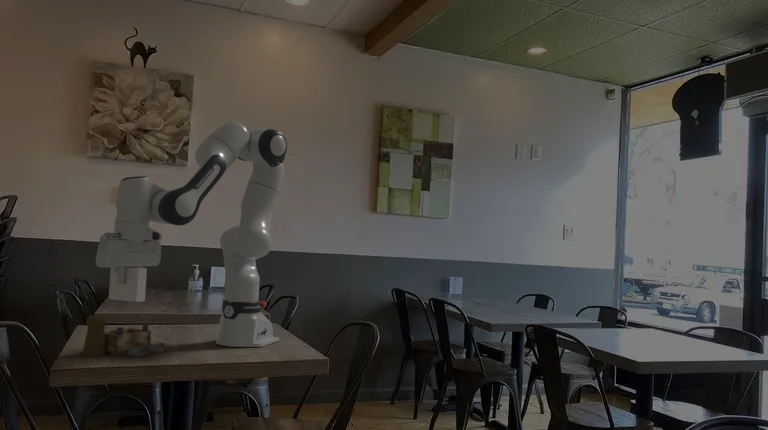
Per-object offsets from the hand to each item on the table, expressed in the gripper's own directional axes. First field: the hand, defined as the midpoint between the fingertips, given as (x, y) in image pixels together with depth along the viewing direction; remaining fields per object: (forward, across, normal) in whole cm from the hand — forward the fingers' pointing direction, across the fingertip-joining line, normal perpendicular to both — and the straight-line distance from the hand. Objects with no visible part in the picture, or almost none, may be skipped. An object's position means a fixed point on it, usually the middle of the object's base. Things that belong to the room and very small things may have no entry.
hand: (128, 283), depth 159 cm
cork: (+21, 0, +10) cm, 23 cm away
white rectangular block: (+5, 0, 0) cm, 5 cm away
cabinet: (+21, +8, +6) cm, 23 cm away
